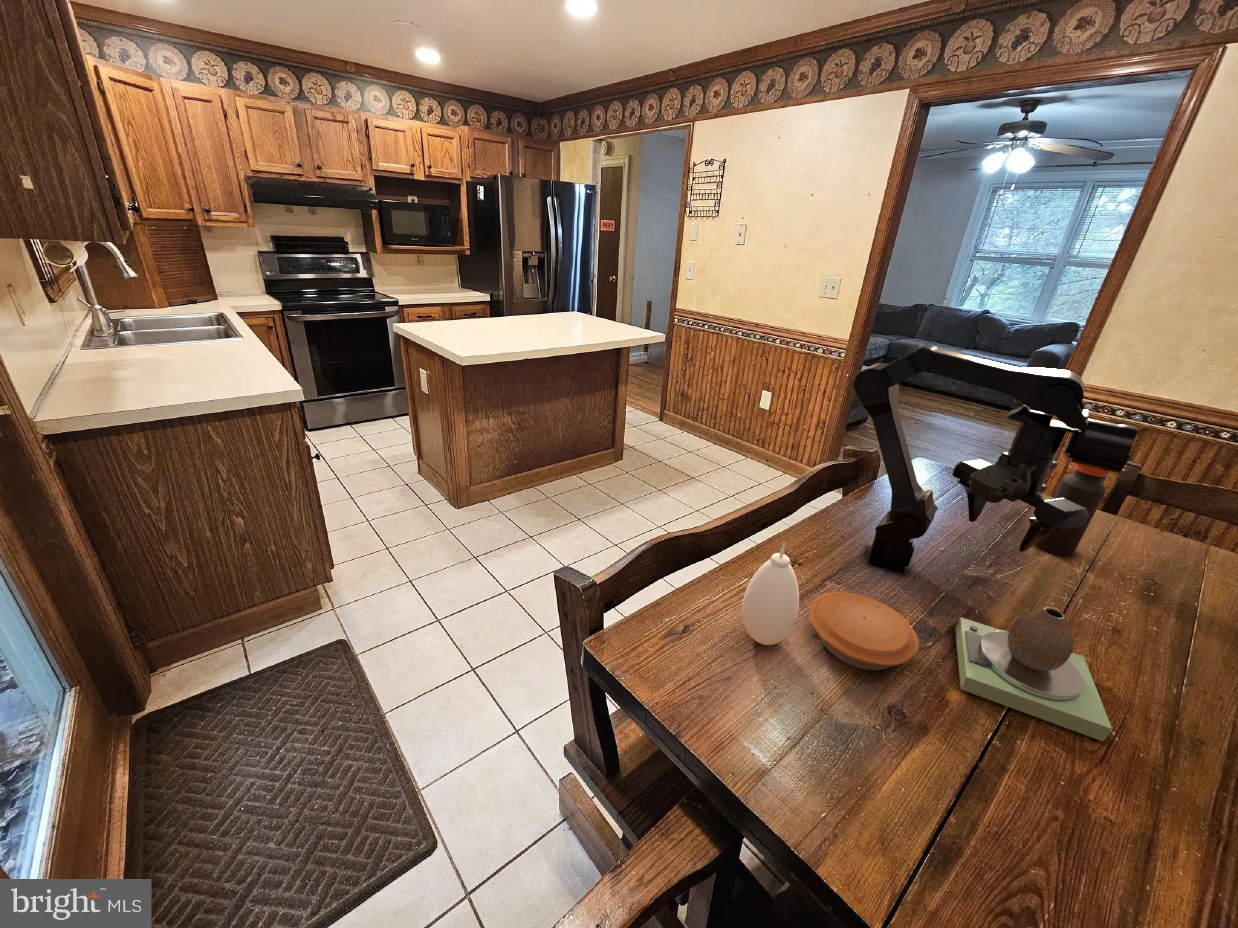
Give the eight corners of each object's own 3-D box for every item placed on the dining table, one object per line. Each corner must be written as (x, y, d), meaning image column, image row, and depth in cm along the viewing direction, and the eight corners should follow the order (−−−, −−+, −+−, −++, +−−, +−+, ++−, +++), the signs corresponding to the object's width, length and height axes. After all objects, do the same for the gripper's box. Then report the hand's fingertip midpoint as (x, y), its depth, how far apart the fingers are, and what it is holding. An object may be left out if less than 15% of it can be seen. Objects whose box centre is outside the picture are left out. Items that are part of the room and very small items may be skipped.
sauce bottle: (754, 614, 84) (774, 521, 77) (797, 640, 80) (823, 543, 72) (727, 637, 79) (745, 540, 72) (771, 666, 74) (796, 565, 67)
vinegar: (1070, 545, 109) (1114, 460, 100) (1075, 560, 104) (1122, 472, 95) (1032, 534, 112) (1071, 451, 103) (1034, 549, 107) (1076, 462, 98)
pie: (903, 623, 84) (912, 599, 82) (920, 696, 71) (931, 670, 69) (805, 598, 89) (811, 575, 86) (803, 664, 75) (811, 638, 73)
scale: (960, 689, 72) (967, 675, 71) (954, 628, 84) (960, 615, 83) (1103, 741, 66) (1113, 727, 65) (1076, 668, 77) (1084, 654, 76)
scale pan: (983, 676, 71) (985, 672, 71) (975, 624, 81) (977, 620, 81) (1091, 714, 66) (1094, 710, 66) (1069, 653, 76) (1071, 649, 76)
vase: (1070, 684, 70) (1099, 635, 66) (1014, 674, 71) (1040, 625, 67) (1043, 647, 76) (1068, 600, 72) (992, 638, 77) (1014, 592, 73)
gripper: (942, 432, 86) (915, 512, 93) (1056, 483, 70) (1013, 576, 77) (992, 428, 89) (962, 506, 96) (1112, 476, 73) (1065, 565, 80)
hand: (995, 535), depth 87 cm, fingers open, 9 cm apart
